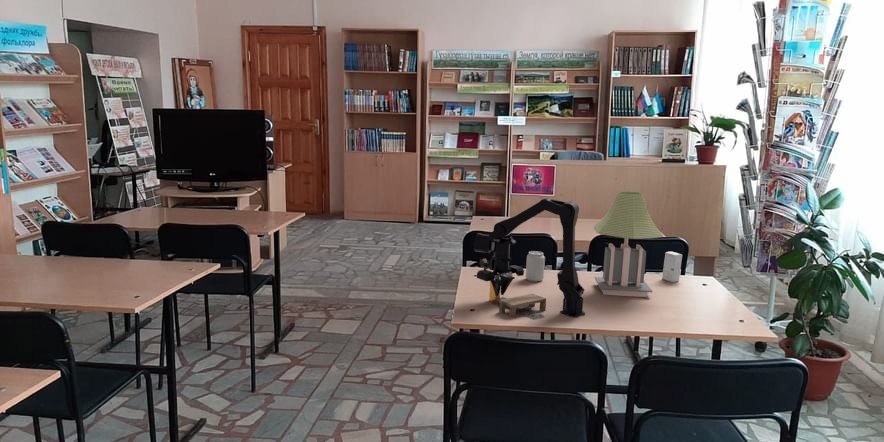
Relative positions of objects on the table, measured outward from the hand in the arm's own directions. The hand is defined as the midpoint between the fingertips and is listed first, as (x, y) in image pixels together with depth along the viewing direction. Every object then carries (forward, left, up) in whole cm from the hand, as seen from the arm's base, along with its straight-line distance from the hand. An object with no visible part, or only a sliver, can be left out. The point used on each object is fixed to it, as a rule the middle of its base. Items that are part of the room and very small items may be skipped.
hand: (499, 295), depth 237 cm
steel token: (-19, 0, -3) cm, 19 cm away
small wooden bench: (-13, 0, -3) cm, 13 cm away
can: (+16, -34, -3) cm, 38 cm away
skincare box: (-14, -87, -3) cm, 88 cm away
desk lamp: (-14, -54, -3) cm, 56 cm away
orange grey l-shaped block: (-4, -1, -3) cm, 5 cm away
